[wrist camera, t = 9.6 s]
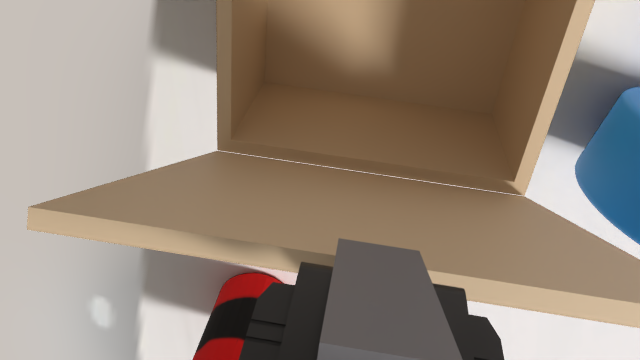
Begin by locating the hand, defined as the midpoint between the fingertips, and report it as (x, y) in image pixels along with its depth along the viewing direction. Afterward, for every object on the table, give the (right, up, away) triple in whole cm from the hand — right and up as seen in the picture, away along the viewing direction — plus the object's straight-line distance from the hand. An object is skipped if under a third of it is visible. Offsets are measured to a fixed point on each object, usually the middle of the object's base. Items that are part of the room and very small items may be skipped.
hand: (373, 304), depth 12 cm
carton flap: (+1, +2, +8) cm, 8 cm away
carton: (+4, +16, +23) cm, 28 cm away
